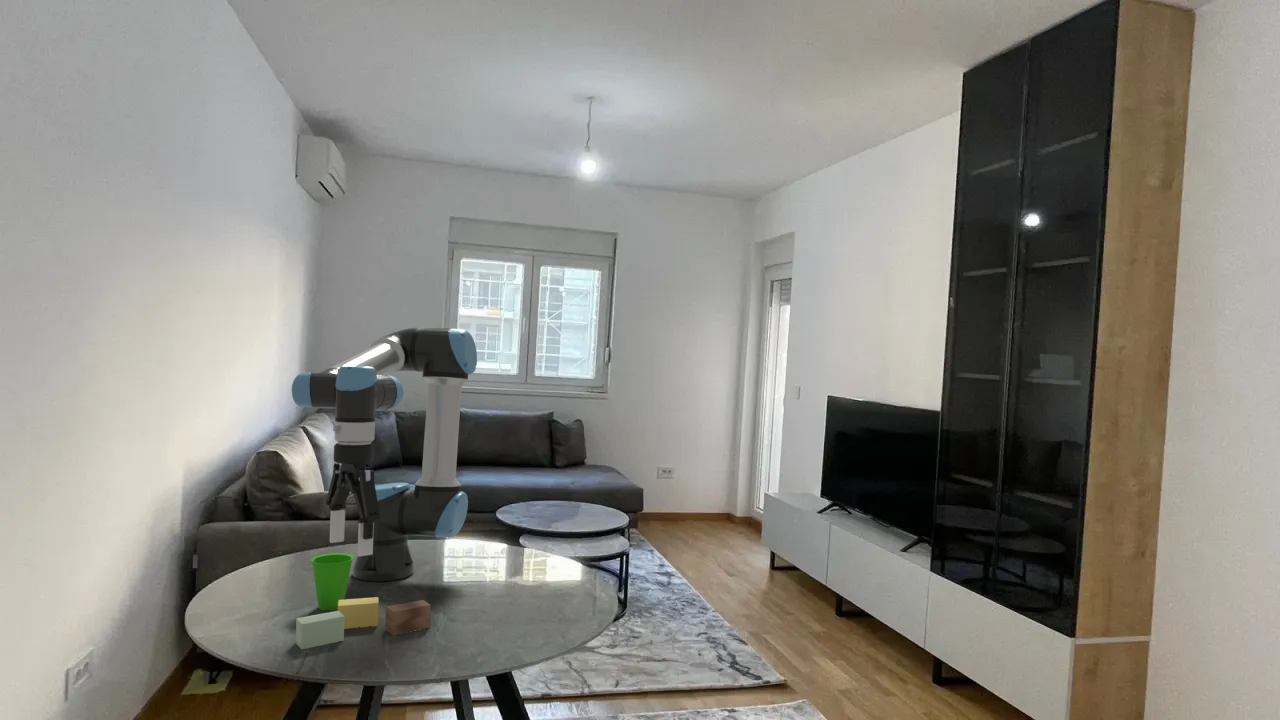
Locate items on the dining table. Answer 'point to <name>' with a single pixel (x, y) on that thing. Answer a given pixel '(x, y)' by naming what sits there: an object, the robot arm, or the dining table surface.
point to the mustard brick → (359, 612)
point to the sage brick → (319, 629)
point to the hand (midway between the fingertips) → (350, 548)
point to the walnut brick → (407, 617)
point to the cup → (331, 578)
